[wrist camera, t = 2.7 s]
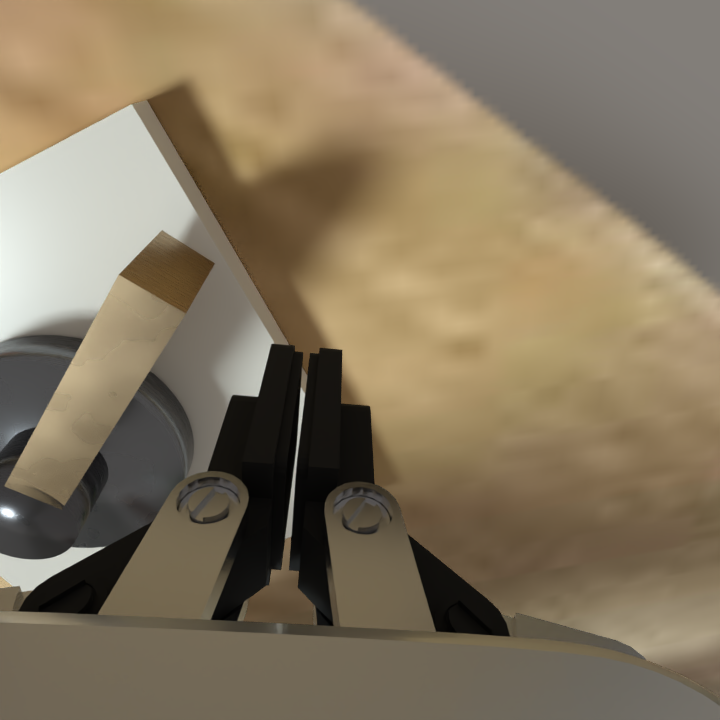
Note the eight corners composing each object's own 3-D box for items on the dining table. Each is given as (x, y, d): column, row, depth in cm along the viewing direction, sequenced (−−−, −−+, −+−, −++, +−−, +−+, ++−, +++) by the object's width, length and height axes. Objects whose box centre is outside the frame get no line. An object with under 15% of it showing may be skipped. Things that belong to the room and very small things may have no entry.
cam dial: (137, 541, 27) (98, 635, 22) (-74, 455, 24) (-166, 547, 19) (312, 311, 20) (304, 382, 16) (57, 150, 17) (-38, 184, 13)
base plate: (372, 487, 28) (374, 512, 26) (62, 592, 31) (49, 619, 30) (146, 99, 18) (129, 104, 16) (-265, 316, 22) (-309, 336, 20)
